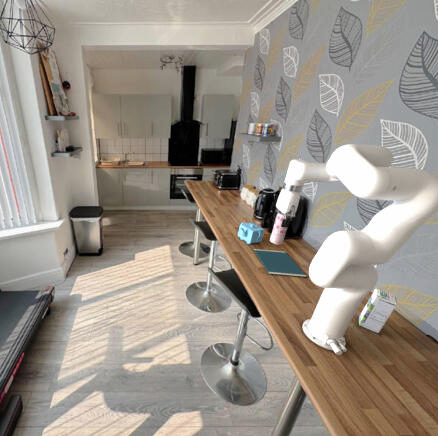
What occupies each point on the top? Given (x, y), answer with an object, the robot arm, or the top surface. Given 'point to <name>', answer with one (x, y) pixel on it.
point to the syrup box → (377, 310)
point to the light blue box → (250, 233)
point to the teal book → (279, 263)
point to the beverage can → (278, 229)
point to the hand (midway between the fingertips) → (281, 223)
